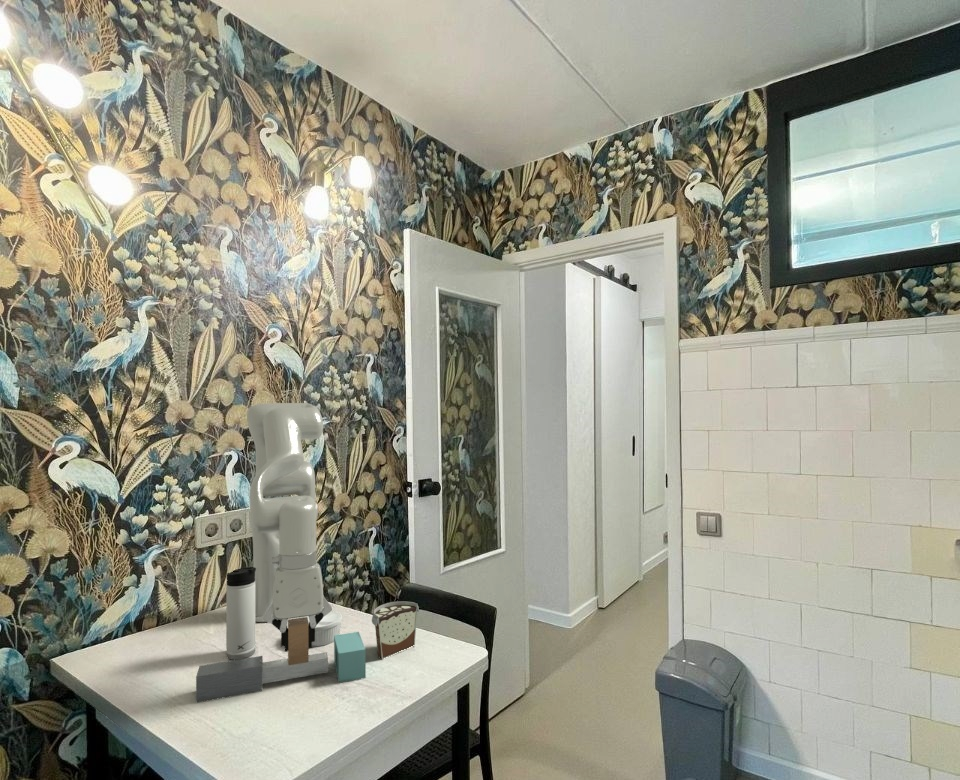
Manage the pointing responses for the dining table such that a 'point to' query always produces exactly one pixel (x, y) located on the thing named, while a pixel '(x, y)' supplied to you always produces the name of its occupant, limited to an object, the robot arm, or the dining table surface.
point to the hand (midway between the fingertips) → (298, 646)
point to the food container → (395, 627)
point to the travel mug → (240, 613)
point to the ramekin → (327, 628)
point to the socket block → (349, 657)
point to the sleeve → (229, 678)
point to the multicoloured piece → (295, 656)
